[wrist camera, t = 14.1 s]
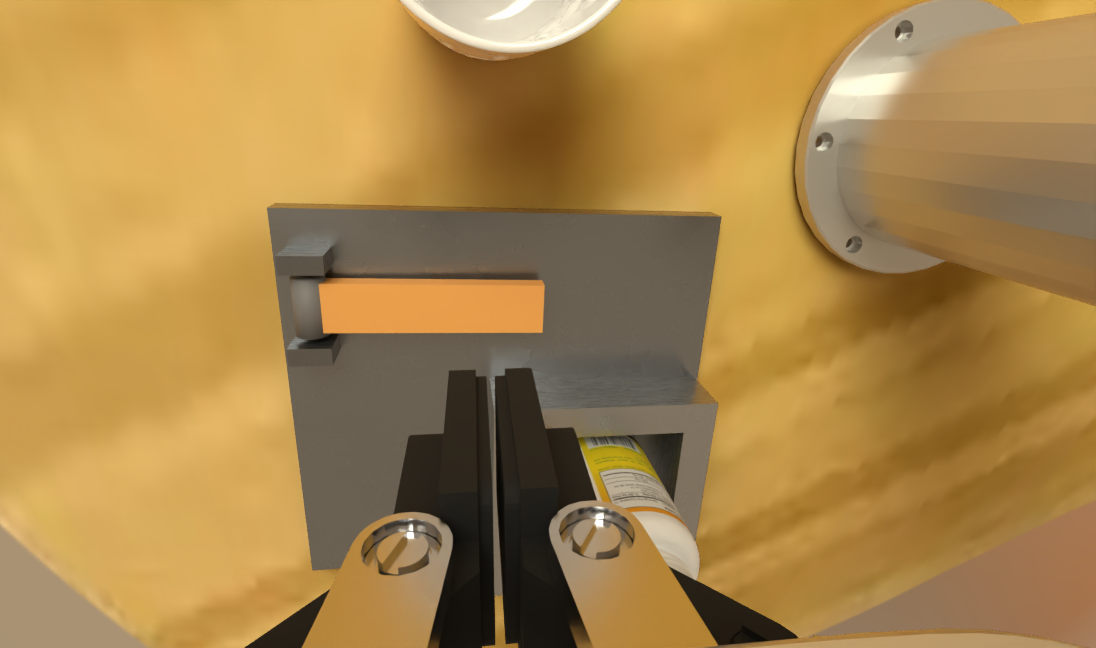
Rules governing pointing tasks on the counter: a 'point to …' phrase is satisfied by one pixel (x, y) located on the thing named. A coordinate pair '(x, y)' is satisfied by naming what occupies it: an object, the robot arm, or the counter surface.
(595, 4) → the white cup
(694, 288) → the hitch plate
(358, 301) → the keeper bar
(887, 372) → the counter surface
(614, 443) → the supplement bottle
